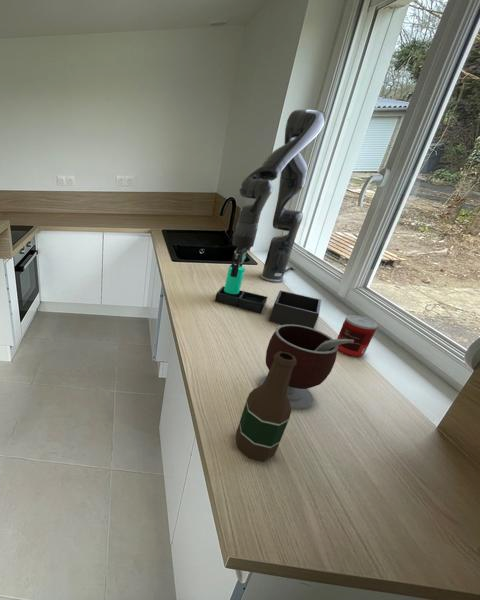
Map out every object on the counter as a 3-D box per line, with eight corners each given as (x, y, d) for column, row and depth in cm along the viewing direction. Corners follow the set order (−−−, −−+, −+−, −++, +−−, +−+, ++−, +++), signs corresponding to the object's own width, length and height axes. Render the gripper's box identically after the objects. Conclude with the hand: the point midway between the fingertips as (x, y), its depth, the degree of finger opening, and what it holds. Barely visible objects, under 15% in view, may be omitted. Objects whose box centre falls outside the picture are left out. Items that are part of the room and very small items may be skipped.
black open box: (274, 307, 130) (280, 290, 127) (314, 317, 123) (321, 299, 120) (268, 321, 120) (274, 303, 116) (311, 333, 113) (319, 314, 109)
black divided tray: (220, 294, 141) (222, 286, 139) (265, 305, 132) (267, 296, 130) (214, 301, 134) (216, 292, 133) (260, 313, 125) (263, 304, 123)
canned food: (357, 346, 105) (371, 317, 101) (368, 360, 98) (383, 329, 94) (330, 342, 108) (342, 313, 103) (338, 355, 101) (352, 324, 96)
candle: (240, 294, 130) (247, 267, 125) (225, 293, 132) (231, 265, 126) (237, 288, 136) (244, 262, 130) (222, 287, 137) (228, 260, 131)
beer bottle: (227, 433, 72) (254, 344, 62) (259, 431, 73) (291, 343, 63) (246, 464, 65) (279, 370, 55) (282, 462, 66) (322, 368, 56)
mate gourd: (249, 394, 84) (270, 328, 75) (262, 369, 94) (282, 308, 85) (320, 424, 75) (353, 354, 66) (326, 393, 85) (356, 328, 76)
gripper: (251, 239, 116) (241, 282, 123) (259, 231, 126) (249, 271, 133) (230, 235, 120) (220, 277, 127) (239, 228, 130) (230, 267, 137)
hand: (235, 274), depth 130 cm, fingers closed on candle, 6 cm apart
